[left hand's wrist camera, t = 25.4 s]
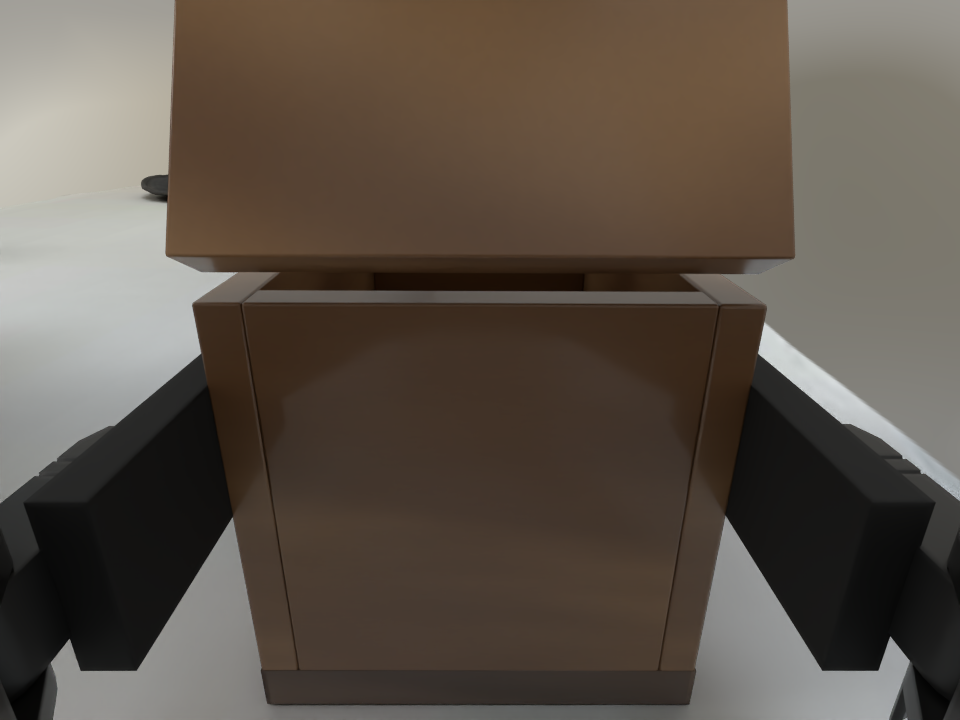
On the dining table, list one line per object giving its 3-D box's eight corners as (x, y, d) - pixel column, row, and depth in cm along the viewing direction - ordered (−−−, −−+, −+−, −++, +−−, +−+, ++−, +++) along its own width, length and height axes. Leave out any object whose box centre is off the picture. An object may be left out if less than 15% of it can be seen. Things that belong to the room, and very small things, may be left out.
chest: (368, 421, 25) (350, 196, 21) (588, 421, 25) (608, 197, 21) (267, 704, 13) (189, 303, 9) (689, 704, 13) (770, 305, 9)
